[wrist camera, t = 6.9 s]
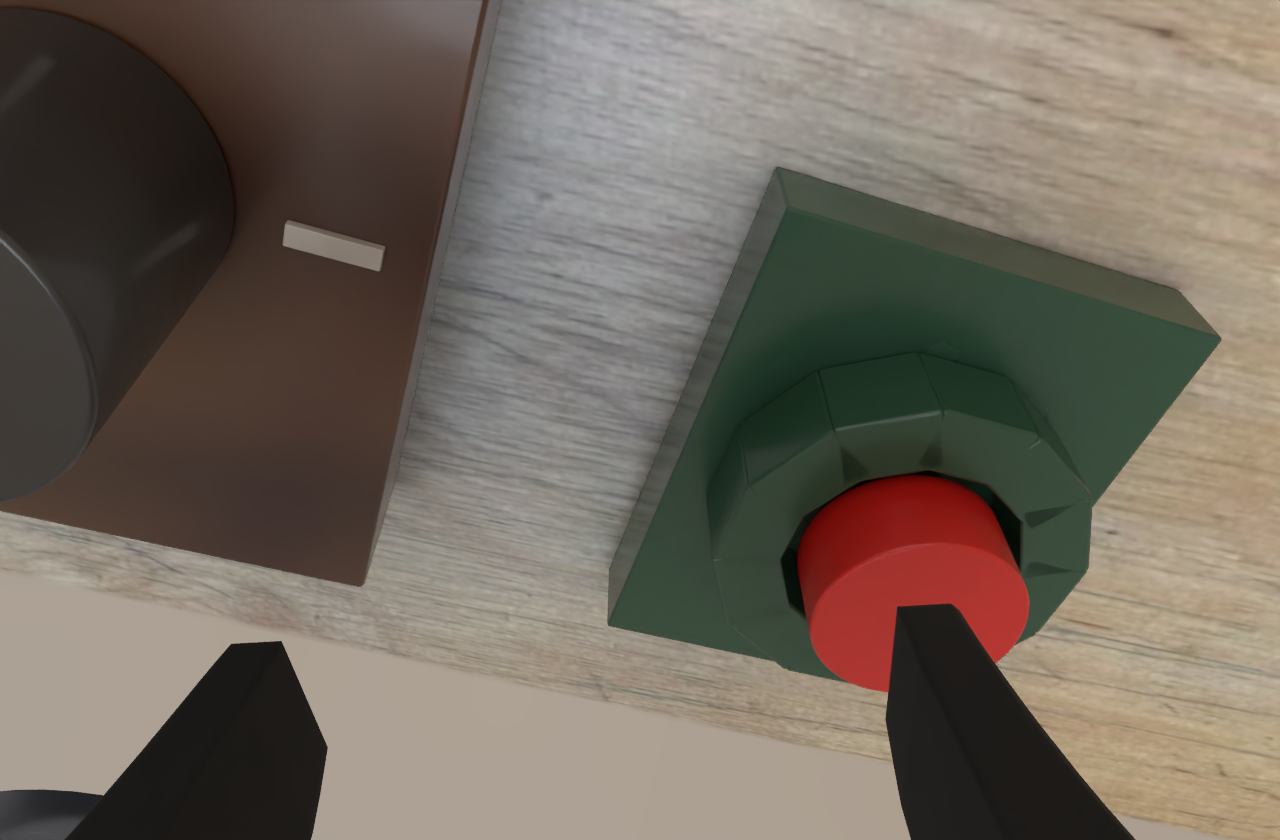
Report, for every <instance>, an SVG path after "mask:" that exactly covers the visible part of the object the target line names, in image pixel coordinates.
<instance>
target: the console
mask: <svg viewBox="0 0 1280 840" xmlns="http://www.w3.org/2000/svg"><path fill="white" fill-rule="evenodd" d="M501 3H502V0H0V8H26V9H32V10H39V11H46V12H50V13H54V14H58V15H62V16H65V17H69V18H73V19H75V20H78V21H80V22H83V23H85V24H88V25H91V26H93V27H96V28H98V29H100V30H102V31H104V32H106V33H108V34H110V35H112V36H113V37H115V38H117V39H119V40H121V41H122V42H124V43H126V44H127V45H129V46H130V47H132V48H133V49H135V50H136V51H138V52H139V53H141V54H142V55H144V56H145V57H146V58H147V59H148V60H150V61H151V62H152V63H153V64H155V65H156V66H157V67H158V68H160V69H161V70H162V71H163V72H164V73H165V74H166V75H167V76H168V77H169V78H170V79H171V80H172V81H173V82H174V83H175V84H176V85H177V86H178V87H179V88H180V89H181V90H182V91H183V92H184V94H185V95H186V96H187V97H188V98H189V100H190V101H191V102H192V103H193V104H194V106H195V107H196V108H197V110H198V111H199V113H200V114H201V116H202V117H203V119H204V120H205V122H206V123H207V125H208V126H209V128H210V130H211V132H212V134H213V136H214V138H215V140H216V142H217V144H218V145H219V148H220V150H221V153H222V156H223V158H224V161H225V164H226V166H227V170H228V174H229V178H230V183H231V187H232V195H233V205H234V212H233V227H232V232H231V237H230V242H229V245H228V247H227V250H226V253H225V255H224V258H223V259H222V261H221V263H220V264H219V266H218V268H217V269H216V271H215V273H214V274H213V275H212V277H211V278H210V280H209V281H208V282H207V284H206V285H205V286H204V288H203V289H202V291H201V292H200V293H199V295H198V296H197V297H196V299H195V300H194V302H193V303H192V304H191V306H190V307H189V308H188V310H187V311H186V313H185V314H184V315H183V317H182V318H181V319H180V321H179V322H178V324H177V325H176V326H175V328H174V329H173V330H172V332H171V333H170V335H169V336H168V337H167V339H166V340H165V341H164V343H163V344H162V346H161V347H160V348H159V350H158V351H157V352H156V354H155V355H154V357H153V358H152V359H151V361H150V362H149V363H148V365H147V366H146V368H145V369H144V370H143V372H142V373H141V374H140V376H139V377H138V379H137V380H136V381H135V383H134V384H133V385H132V387H131V388H130V390H129V391H128V392H127V394H126V395H125V396H124V398H123V399H122V401H121V402H120V403H119V405H118V406H117V407H116V409H115V410H114V412H113V413H112V414H111V416H110V417H109V418H108V420H107V421H106V423H105V424H104V425H103V427H102V428H101V429H100V431H99V432H98V434H97V435H96V436H95V438H94V439H93V440H92V442H91V443H90V445H89V446H88V447H87V449H86V450H85V451H84V453H83V454H82V456H81V457H80V458H79V459H78V460H77V461H76V462H75V464H74V465H73V466H72V467H71V468H70V469H69V470H68V471H67V472H66V473H64V474H63V475H62V476H60V477H59V478H58V479H57V480H55V481H54V482H52V483H51V484H49V485H47V486H45V487H43V488H41V489H39V490H37V491H36V492H33V493H31V494H28V495H25V496H23V497H20V498H17V499H14V500H11V501H6V502H2V503H0V511H2V512H7V513H12V514H17V515H21V516H26V517H31V518H36V519H40V520H45V521H50V522H55V523H59V524H64V525H69V526H73V527H78V528H83V529H88V530H92V531H97V532H102V533H107V534H111V535H116V536H121V537H126V538H130V539H135V540H140V541H144V542H149V543H154V544H159V545H163V546H168V547H173V548H178V549H182V550H187V551H192V552H196V553H201V554H206V555H211V556H215V557H220V558H225V559H230V560H234V561H239V562H244V563H249V564H253V565H258V566H263V567H267V568H272V569H277V570H282V571H286V572H291V573H296V574H301V575H305V576H310V577H315V578H319V579H324V580H329V581H334V582H338V583H343V584H348V585H353V586H357V587H361V586H362V585H363V584H364V583H365V580H366V577H367V574H368V570H369V567H370V564H371V561H372V557H373V554H374V551H375V547H376V544H377V541H378V538H379V534H380V531H381V528H382V525H383V521H384V518H385V515H386V512H387V508H388V505H389V502H390V499H391V495H392V492H393V489H394V485H395V481H396V476H397V472H398V467H399V463H400V458H401V454H402V449H403V445H404V440H405V436H406V431H407V427H408V422H409V418H410V413H411V409H412V404H413V400H414V395H415V391H416V386H417V382H418V377H419V373H420V368H421V364H422V359H423V354H424V350H425V345H426V341H427V336H428V332H429V327H430V323H431V318H432V314H433V309H434V305H435V300H436V296H437V291H438V287H439V282H440V278H441V273H442V269H443V264H444V260H445V255H446V251H447V246H448V242H449V237H450V233H451V228H452V224H453V219H454V215H455V210H456V206H457V201H458V197H459V192H460V188H461V183H462V179H463V174H464V169H465V165H466V160H467V156H468V151H469V147H470V142H471V138H472V133H473V129H474V124H475V120H476V115H477V111H478V106H479V102H480V97H481V93H482V88H483V84H484V79H485V75H486V70H487V66H488V61H489V57H490V52H491V48H492V43H493V39H494V34H495V30H496V25H497V21H498V16H499V12H500V7H501Z"/></svg>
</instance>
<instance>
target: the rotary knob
mask: <svg viewBox="0 0 1280 840" xmlns="http://www.w3.org/2000/svg"><path fill="white" fill-rule="evenodd" d="M233 212H234V205H233V195H232V187H231V183H230V178H229V174H228V170H227V166H226V164H225V161H224V158H223V156H222V153H221V150H220V148H219V145H218V144H217V142H216V140H215V138H214V136H213V134H212V132H211V130H210V128H209V126H208V125H207V123H206V122H205V120H204V119H203V117H202V116H201V114H200V113H199V111H198V110H197V108H196V107H195V106H194V104H193V103H192V102H191V101H190V100H189V98H188V97H187V96H186V95H185V94H184V92H183V91H182V90H181V89H180V88H179V87H178V86H177V85H176V84H175V83H174V82H173V81H172V80H171V79H170V78H169V77H168V76H167V75H166V74H165V73H164V72H163V71H162V70H161V69H160V68H158V67H157V66H156V65H155V64H153V63H152V62H151V61H150V60H148V59H147V58H146V57H145V56H144V55H142V54H141V53H139V52H138V51H136V50H135V49H133V48H132V47H130V46H129V45H127V44H126V43H124V42H122V41H121V40H119V39H117V38H115V37H113V36H112V35H110V34H108V33H106V32H104V31H102V30H100V29H98V28H96V27H93V26H91V25H88V24H85V23H83V22H80V21H78V20H75V19H73V18H69V17H65V16H62V15H58V14H54V13H50V12H46V11H39V10H32V9H26V8H0V503H2V502H6V501H11V500H14V499H17V498H20V497H23V496H25V495H28V494H31V493H33V492H36V491H37V490H39V489H41V488H43V487H45V486H47V485H49V484H51V483H52V482H54V481H55V480H57V479H58V478H59V477H60V476H62V475H63V474H64V473H66V472H67V471H68V470H69V469H70V468H71V467H72V466H73V465H74V464H75V462H76V461H77V460H78V459H79V458H80V457H81V456H82V454H83V453H84V451H85V450H86V449H87V447H88V446H89V445H90V443H91V442H92V440H93V439H94V438H95V436H96V435H97V434H98V432H99V431H100V429H101V428H102V427H103V425H104V424H105V423H106V421H107V420H108V418H109V417H110V416H111V414H112V413H113V412H114V410H115V409H116V407H117V406H118V405H119V403H120V402H121V401H122V399H123V398H124V396H125V395H126V394H127V392H128V391H129V390H130V388H131V387H132V385H133V384H134V383H135V381H136V380H137V379H138V377H139V376H140V374H141V373H142V372H143V370H144V369H145V368H146V366H147V365H148V363H149V362H150V361H151V359H152V358H153V357H154V355H155V354H156V352H157V351H158V350H159V348H160V347H161V346H162V344H163V343H164V341H165V340H166V339H167V337H168V336H169V335H170V333H171V332H172V330H173V329H174V328H175V326H176V325H177V324H178V322H179V321H180V319H181V318H182V317H183V315H184V314H185V313H186V311H187V310H188V308H189V307H190V306H191V304H192V303H193V302H194V300H195V299H196V297H197V296H198V295H199V293H200V292H201V291H202V289H203V288H204V286H205V285H206V284H207V282H208V281H209V280H210V278H211V277H212V275H213V274H214V273H215V271H216V269H217V268H218V266H219V264H220V263H221V261H222V259H223V258H224V255H225V253H226V250H227V247H228V245H229V242H230V237H231V232H232V227H233Z"/></svg>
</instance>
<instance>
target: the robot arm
mask: <svg viewBox="0 0 1280 840" xmlns="http://www.w3.org/2000/svg"><path fill="white" fill-rule="evenodd" d="M886 724H887V730H888V736H889V741H890V747H891V753H892V758H893V764H894V769H895V774H896V780H897V785H898V790H899V795H900V801H901V806H902V810H903V813H904V816H905V820H906V824H907V827H908V830H909V834H910V837H911V840H1135V839H1134V838H1133V836H1132V835H1131V834H1130V833H1129V832H1128V831H1127V830H1126V828H1125V827H1124V826H1123V825H1122V824H1121V823H1120V822H1119V820H1117V818H1116V817H1115V816H1114V815H1113V814H1112V812H1111V811H1110V810H1109V809H1108V808H1107V807H1106V806H1105V804H1104V803H1103V802H1102V801H1101V800H1100V798H1099V797H1098V796H1097V795H1096V794H1095V793H1094V791H1093V790H1092V789H1091V788H1090V787H1089V785H1088V784H1087V783H1086V782H1085V781H1084V779H1083V778H1082V777H1081V776H1080V775H1079V773H1078V772H1077V771H1076V770H1075V768H1074V767H1073V766H1072V764H1071V763H1070V762H1069V761H1068V759H1067V758H1066V757H1065V756H1064V754H1063V753H1062V752H1061V751H1060V749H1059V748H1058V747H1057V746H1056V744H1055V743H1054V742H1053V741H1052V739H1051V738H1050V737H1049V736H1048V734H1047V733H1046V732H1045V731H1044V729H1043V728H1042V727H1041V726H1040V724H1039V723H1038V722H1037V720H1036V719H1035V718H1034V716H1033V715H1032V714H1031V712H1030V711H1029V710H1028V708H1027V707H1026V706H1025V704H1024V703H1023V702H1022V700H1021V699H1020V698H1019V696H1018V695H1017V693H1016V692H1015V691H1014V689H1013V688H1012V687H1011V685H1010V684H1009V682H1008V681H1007V680H1006V678H1005V677H1004V676H1003V674H1002V673H1001V671H1000V670H999V669H998V667H997V666H996V664H995V663H994V661H993V660H992V659H991V657H990V656H989V654H988V653H987V651H986V650H985V648H984V647H983V645H982V644H981V642H980V641H979V639H978V638H977V636H976V635H975V633H974V632H973V630H972V629H971V627H970V626H969V624H968V623H967V621H966V620H965V618H964V616H963V615H962V613H961V612H960V610H959V609H957V608H956V607H955V606H954V605H952V604H951V603H950V604H933V605H915V606H897V613H896V623H895V633H894V643H893V652H892V662H891V672H890V681H889V691H888V701H887V711H886ZM326 755H327V745H326V743H325V740H324V738H323V736H322V733H321V731H320V729H319V726H318V724H317V722H316V720H315V717H314V715H313V713H312V710H311V708H310V706H309V704H308V701H307V699H306V697H305V694H304V692H303V690H302V687H301V685H300V683H299V680H298V678H297V676H296V674H295V671H294V669H293V667H292V664H291V662H290V660H289V657H288V655H287V653H286V651H285V648H284V646H283V644H282V642H281V641H275V642H259V643H240V644H231V645H230V646H229V647H228V648H227V649H226V651H225V652H224V653H223V654H222V655H221V656H220V658H219V659H218V660H217V661H216V662H215V663H214V665H213V666H212V667H211V668H210V669H209V671H208V672H207V673H206V674H205V676H203V678H202V679H201V680H200V681H199V683H198V684H197V685H196V686H195V687H194V689H193V690H192V691H191V692H190V693H189V695H188V696H187V697H186V698H185V700H184V701H183V702H182V703H181V704H180V706H179V707H178V708H177V709H176V710H175V712H174V713H173V714H172V715H171V717H170V718H169V719H168V720H167V721H166V723H165V724H164V725H163V726H162V727H161V729H160V730H159V731H158V732H157V733H156V735H155V736H154V737H153V738H152V739H151V741H150V742H149V743H148V744H147V745H146V747H145V748H144V749H143V750H142V752H141V753H140V754H139V755H138V756H137V757H136V759H135V760H134V761H133V762H132V763H131V764H130V765H129V767H128V768H127V769H126V770H125V771H124V772H123V774H122V775H121V776H120V777H119V778H118V779H117V781H116V782H115V783H114V784H113V785H112V786H111V788H110V789H109V790H108V791H107V792H106V793H105V795H104V796H103V797H102V798H101V799H100V800H99V801H98V803H97V804H96V805H95V806H94V807H93V808H92V810H91V811H90V812H89V813H88V814H87V815H86V816H85V818H84V819H83V820H82V821H81V822H80V823H79V824H78V825H77V826H76V828H75V829H74V830H73V831H72V832H71V833H70V834H69V835H68V836H67V837H66V838H65V839H64V840H311V837H312V833H313V829H314V823H315V818H316V813H317V807H318V802H319V797H320V791H321V785H322V779H323V773H324V766H325V761H326Z"/></svg>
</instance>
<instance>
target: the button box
mask: <svg viewBox="0 0 1280 840" xmlns="http://www.w3.org/2000/svg"><path fill="white" fill-rule="evenodd" d="M1220 341H1221V337H1220V336H1219V335H1218V334H1217V332H1216V331H1215V330H1214V329H1213V328H1212V327H1211V326H1210V325H1209V324H1208V322H1207V321H1206V320H1205V319H1204V318H1203V317H1202V316H1201V315H1200V314H1199V312H1198V311H1197V310H1196V309H1195V308H1194V307H1193V306H1192V305H1191V304H1190V302H1189V301H1188V300H1187V299H1186V298H1185V297H1184V296H1183V295H1182V294H1181V292H1180V291H1177V290H1174V289H1171V288H1168V287H1164V286H1161V285H1158V284H1155V283H1151V282H1148V281H1145V280H1142V279H1138V278H1135V277H1132V276H1129V275H1125V274H1122V273H1119V272H1116V271H1113V270H1109V269H1106V268H1103V267H1100V266H1096V265H1093V264H1090V263H1087V262H1083V261H1080V260H1077V259H1074V258H1071V257H1067V256H1064V255H1061V254H1058V253H1054V252H1051V251H1048V250H1045V249H1041V248H1038V247H1035V246H1032V245H1029V244H1025V243H1022V242H1019V241H1016V240H1012V239H1009V238H1006V237H1003V236H999V235H996V234H993V233H990V232H987V231H983V230H980V229H977V228H974V227H970V226H967V225H964V224H961V223H957V222H954V221H951V220H948V219H945V218H941V217H938V216H935V215H932V214H928V213H925V212H922V211H919V210H915V209H912V208H909V207H906V206H903V205H899V204H896V203H893V202H890V201H886V200H883V199H880V198H877V197H873V196H870V195H867V194H864V193H861V192H857V191H854V190H851V189H848V188H844V187H841V186H838V185H835V184H831V183H828V182H825V181H822V180H819V179H815V178H812V177H809V176H806V175H802V174H799V173H796V172H793V171H789V170H786V169H783V168H776V169H775V170H774V173H773V175H772V178H771V180H770V182H769V185H768V187H767V190H766V192H765V195H764V197H763V199H762V202H761V204H760V207H759V209H758V211H757V214H756V216H755V219H754V221H753V224H752V226H751V228H750V231H749V233H748V236H747V238H746V240H745V243H744V245H743V248H742V250H741V252H740V255H739V257H738V260H737V262H736V265H735V267H734V269H733V272H732V274H731V277H730V279H729V281H728V284H727V286H726V289H725V291H724V294H723V296H722V298H721V301H720V303H719V306H718V308H717V310H716V313H715V315H714V318H713V320H712V323H711V325H710V327H709V330H708V332H707V335H706V337H705V339H704V342H703V344H702V347H701V349H700V352H699V354H698V356H697V359H696V361H695V364H694V366H693V368H692V371H691V373H690V376H689V378H688V381H687V383H686V385H685V388H684V390H683V393H682V395H681V397H680V400H679V402H678V405H677V407H676V409H675V412H674V414H673V417H672V419H671V422H670V424H669V426H668V429H667V431H666V434H665V436H664V438H663V441H662V443H661V446H660V448H659V451H658V453H657V455H656V458H655V460H654V463H653V465H652V467H651V470H650V472H649V475H648V477H647V480H646V482H645V484H644V487H643V489H642V492H641V494H640V496H639V499H638V501H637V504H636V506H635V509H634V511H633V513H632V516H631V518H630V521H629V523H628V525H627V528H626V530H625V533H624V535H623V538H622V540H621V542H620V545H619V547H618V550H617V552H616V554H615V557H614V559H613V562H612V564H611V567H610V569H609V589H608V619H607V623H608V625H609V626H612V627H616V628H621V629H626V630H630V631H635V632H640V633H644V634H649V635H654V636H658V637H663V638H668V639H672V640H677V641H682V642H686V643H691V644H696V645H700V646H705V647H710V648H714V649H719V650H724V651H728V652H733V653H738V654H742V655H747V656H752V657H756V658H761V659H766V660H770V661H775V662H776V663H777V664H779V665H780V666H781V667H782V668H784V669H788V670H790V671H794V672H799V673H804V674H809V675H813V676H818V677H823V678H827V679H832V680H837V681H841V682H846V683H849V682H848V681H846V680H844V679H842V678H840V677H839V676H837V675H836V674H834V673H833V672H831V671H830V670H829V669H828V668H827V667H826V666H825V665H824V664H823V663H822V661H821V660H820V659H819V657H818V656H817V655H816V653H815V651H814V649H813V647H812V643H811V640H810V635H809V630H808V624H807V619H806V613H805V608H804V602H803V597H802V591H801V586H800V580H799V575H798V569H797V552H798V547H799V544H800V540H801V538H802V536H803V534H804V532H805V529H806V528H807V526H808V525H809V523H810V522H811V520H812V519H813V518H814V517H815V516H816V515H817V513H818V512H819V511H820V510H821V509H822V508H824V507H825V506H826V505H827V504H828V503H829V502H831V501H832V500H834V499H835V498H836V497H838V496H839V495H841V494H843V493H845V492H847V491H848V490H850V489H852V488H855V487H857V486H859V485H862V484H864V483H867V482H870V481H874V480H877V479H881V478H886V477H891V476H900V475H927V476H935V477H940V478H944V479H948V480H951V481H954V482H957V483H959V484H961V485H963V486H965V487H967V488H969V489H970V490H972V491H973V492H975V493H976V494H978V495H979V496H980V497H981V498H982V499H983V500H984V501H986V502H987V504H988V505H989V506H990V508H991V509H992V510H993V512H994V514H995V516H996V518H997V520H998V522H999V525H1000V527H1001V529H1002V531H1003V534H1004V536H1005V538H1006V541H1007V543H1008V545H1009V548H1010V550H1011V552H1012V555H1013V557H1014V559H1015V562H1016V564H1017V566H1018V568H1019V571H1020V573H1021V575H1022V578H1023V580H1024V582H1025V585H1026V588H1027V591H1028V594H1029V604H1030V605H1029V614H1028V619H1027V622H1026V626H1025V628H1024V630H1023V632H1022V634H1021V636H1020V638H1019V639H1018V641H1017V642H1016V643H1015V645H1016V644H1018V643H1020V642H1022V641H1024V640H1026V639H1028V638H1030V637H1032V636H1034V635H1035V632H1038V631H1039V630H1040V629H1041V628H1042V627H1043V625H1044V624H1045V623H1046V622H1047V621H1048V619H1049V618H1050V617H1051V616H1052V614H1053V613H1054V612H1055V611H1056V609H1057V608H1058V607H1059V606H1060V604H1061V603H1062V602H1063V601H1064V600H1065V598H1066V597H1067V596H1068V595H1069V593H1070V592H1071V591H1072V590H1073V588H1074V587H1075V586H1076V585H1077V583H1078V582H1079V581H1080V580H1081V578H1082V577H1083V576H1084V575H1085V574H1086V570H1087V569H1088V567H1089V551H1090V535H1091V519H1092V507H1093V506H1094V505H1095V503H1096V502H1097V501H1098V499H1099V498H1100V497H1101V495H1102V494H1103V493H1104V492H1105V490H1106V489H1107V488H1108V486H1109V485H1110V484H1111V483H1112V481H1113V480H1114V479H1115V477H1116V476H1117V475H1118V473H1119V472H1120V471H1121V470H1122V468H1123V467H1124V466H1125V464H1126V463H1127V462H1128V461H1129V459H1130V458H1131V457H1132V455H1133V454H1134V453H1135V451H1136V450H1137V449H1138V448H1139V446H1140V445H1141V444H1142V442H1143V441H1144V440H1145V439H1146V437H1147V436H1148V435H1149V433H1150V432H1151V431H1152V429H1153V428H1154V427H1155V426H1156V424H1157V423H1158V422H1159V420H1160V419H1161V418H1162V417H1163V415H1164V414H1165V413H1166V411H1167V410H1168V409H1169V407H1170V406H1171V405H1172V404H1173V402H1174V401H1175V400H1176V398H1177V397H1178V396H1179V395H1180V393H1181V392H1182V391H1183V389H1184V388H1185V387H1186V385H1187V384H1188V383H1189V382H1190V380H1191V379H1192V378H1193V376H1194V375H1195V374H1196V373H1197V371H1198V370H1199V369H1200V367H1201V366H1202V365H1203V363H1204V362H1205V361H1206V360H1207V358H1208V357H1209V356H1210V354H1211V353H1212V352H1213V351H1214V349H1215V348H1216V347H1217V345H1218V344H1219V343H1220ZM851 684H852V683H851Z"/></svg>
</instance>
